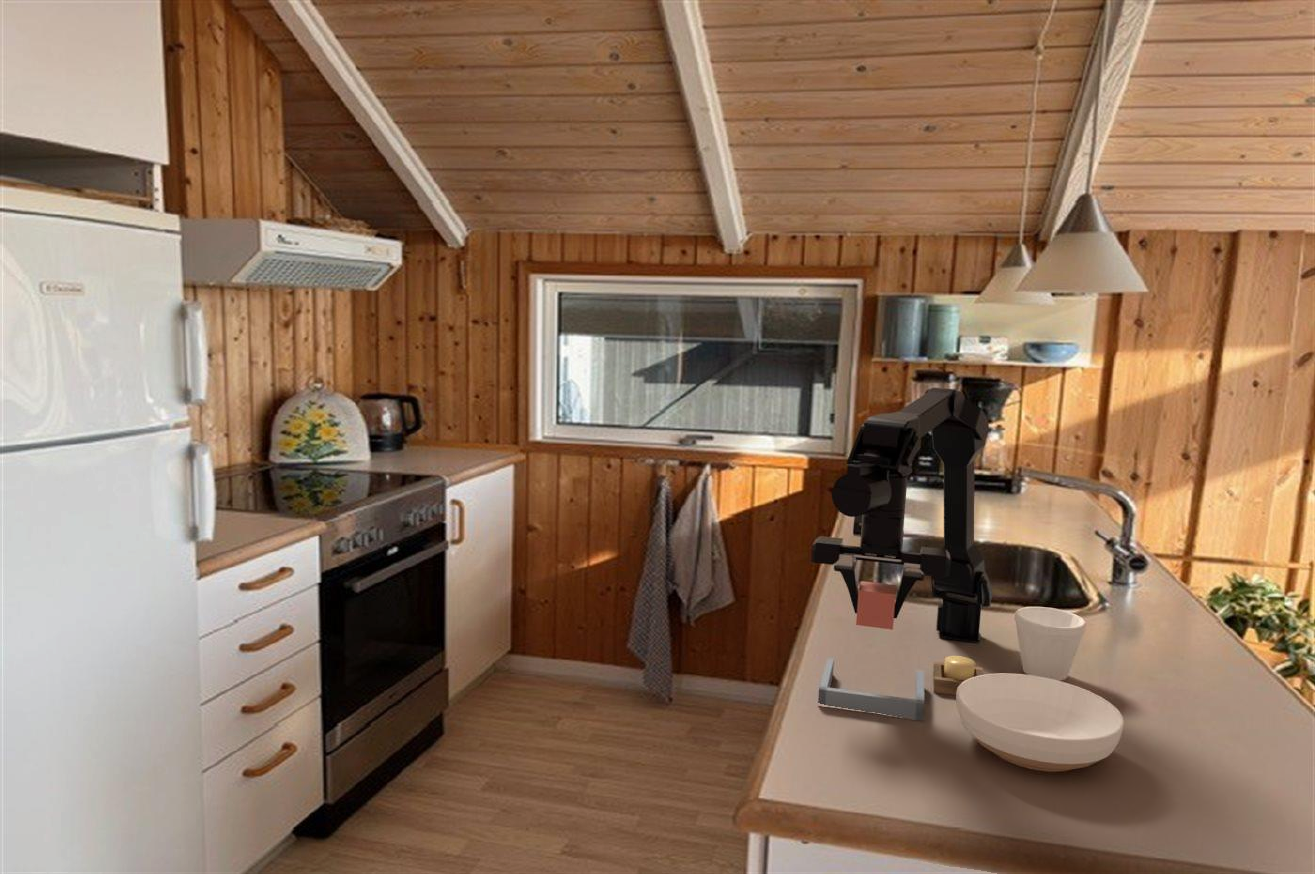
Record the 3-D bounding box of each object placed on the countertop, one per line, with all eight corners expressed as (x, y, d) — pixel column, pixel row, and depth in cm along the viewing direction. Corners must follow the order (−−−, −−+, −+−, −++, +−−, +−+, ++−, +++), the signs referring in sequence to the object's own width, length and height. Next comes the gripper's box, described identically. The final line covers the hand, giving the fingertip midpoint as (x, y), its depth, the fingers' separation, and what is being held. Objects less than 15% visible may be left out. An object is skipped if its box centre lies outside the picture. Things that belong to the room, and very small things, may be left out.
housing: (981, 680, 138) (982, 667, 138) (984, 698, 131) (985, 685, 131) (932, 673, 140) (933, 661, 140) (933, 691, 133) (934, 678, 133)
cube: (893, 618, 132) (896, 585, 132) (892, 629, 128) (895, 594, 127) (858, 614, 134) (860, 581, 133) (856, 624, 129) (858, 590, 128)
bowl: (1156, 778, 110) (1162, 730, 109) (1018, 799, 105) (1022, 748, 104) (1045, 709, 129) (1049, 667, 128) (922, 723, 123) (926, 679, 122)
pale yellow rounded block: (972, 678, 137) (974, 657, 137) (974, 689, 133) (975, 668, 133) (943, 674, 138) (944, 654, 138) (943, 685, 134) (945, 664, 134)
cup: (1013, 658, 147) (1017, 602, 146) (1081, 670, 143) (1087, 613, 142) (1006, 679, 139) (1011, 620, 137) (1079, 693, 134) (1085, 632, 133)
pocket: (922, 686, 135) (923, 670, 135) (923, 721, 124) (924, 703, 123) (826, 673, 139) (827, 657, 138) (817, 706, 127) (818, 688, 127)
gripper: (952, 503, 134) (943, 607, 136) (822, 491, 139) (816, 591, 141) (954, 518, 123) (944, 630, 125) (814, 504, 128) (807, 613, 130)
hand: (875, 615), depth 131 cm, fingers closed on cube, 5 cm apart
